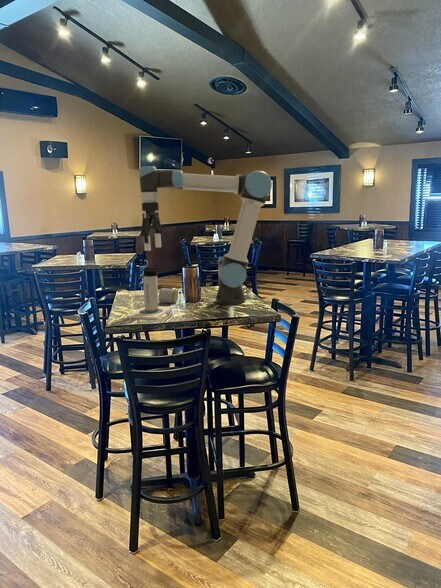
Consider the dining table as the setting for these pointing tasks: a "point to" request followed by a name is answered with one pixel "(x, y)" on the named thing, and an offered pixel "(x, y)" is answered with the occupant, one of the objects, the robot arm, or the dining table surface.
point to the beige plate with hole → (148, 315)
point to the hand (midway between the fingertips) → (153, 249)
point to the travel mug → (150, 289)
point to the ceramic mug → (168, 295)
